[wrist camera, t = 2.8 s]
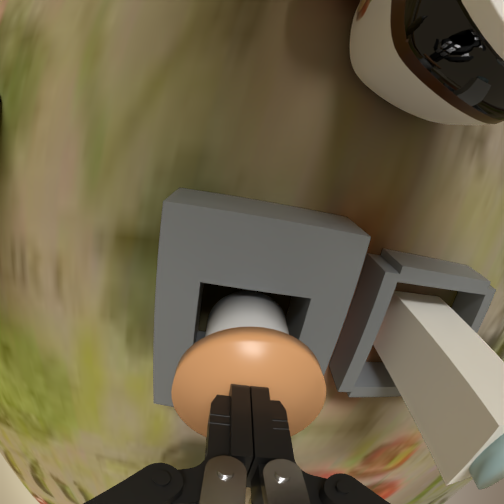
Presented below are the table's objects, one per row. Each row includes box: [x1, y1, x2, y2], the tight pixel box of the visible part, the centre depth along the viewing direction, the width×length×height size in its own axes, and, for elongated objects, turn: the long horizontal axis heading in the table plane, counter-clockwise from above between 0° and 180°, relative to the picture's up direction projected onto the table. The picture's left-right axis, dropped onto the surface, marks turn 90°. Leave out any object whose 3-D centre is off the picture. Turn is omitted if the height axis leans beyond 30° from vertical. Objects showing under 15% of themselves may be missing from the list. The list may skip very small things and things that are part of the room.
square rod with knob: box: [373, 291, 504, 489], centre depth 15 cm, size 4×4×14 cm
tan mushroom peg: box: [171, 291, 326, 437], centre depth 15 cm, size 6×6×6 cm
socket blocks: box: [153, 188, 496, 407], centre depth 19 cm, size 22×13×4 cm, turn 80°
